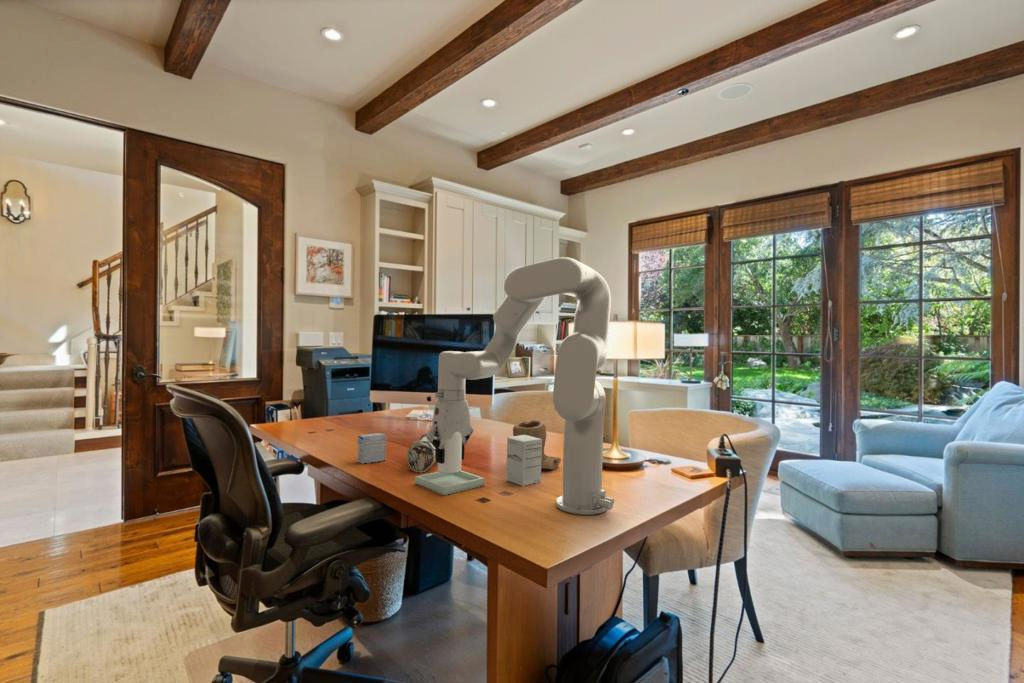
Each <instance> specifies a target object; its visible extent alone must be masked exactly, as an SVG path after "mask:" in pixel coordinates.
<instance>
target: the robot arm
mask: <svg viewBox="0 0 1024 683" xmlns="http://www.w3.org/2000/svg"><path fill="white" fill-rule="evenodd" d="M503 287H504V292H505V294H506V296H505V298H504V299H503V300H502V302H501V304H500V305H499V306H498V307H497V309H496V310H495V311H494V313H493V316H492V320H493V322H494V326H495V329H494V334H493V336H492V338H491V339H490V341H489V343H487V345H486V346H485V348H484V349H483V350H476V351H473V350H472V351H465V352H464V351H458V350H456V351H454V350H447V351H446V350H445V351H441V352H440V353H439V355H438V372H437V373H438V374H437V375H438V376H437V392H435V393H434V398H436V399H437V400H436V401H435V404H434V409H433V416H432V427H431V428H430V429H429V430H428V431H429V432H428V431H427V432H428V434H427V435H426V438H427V439H428V440H429V441H430V442H431V444H432V445H433V446H434V447H435V459H436V461H435V462H436V463H437V464H438V463H441V464H443V463H444V455H445V450H444V449H443V445H444V443H445V439H450V438H452V435H453V434H454V433H455V432H459V433H461V436H462V461H463V460H465V450H466V449H465V446H466V445H467V443H468V441H469V439H470V438H471V436H472V434H473V433H474V432H475V431H474V428H473V427H472V426H471V420H470V419H471V418H470V414H471V413H470V407H469V403H468V400H467V399H466V380H470V381H472V380H474V381H475V380H481V379H487V378H491V377H494V376H495V375H496V374H497V373H499V371H500V370H501V369H502V368H503V367H504V365H505V364H506V362H507V361H508V360H509V358H510V357H511V356H512V354H513V353H514V350H515V348H516V345H517V342H518V340H519V335H520V334H521V332H522V331H523V329H524V328H525V327H526V326H527V324H528V322H529V321H530V319H531V318H532V317H533V316H534V315H535V313H536V312H537V310H538V309H539V308H540V306H541V305H542V304H543V303H544V301H545V300H546V298H548V297H551V296H557V295H567V296H571V297H573V298H575V299H576V302H577V303H576V304H577V305H576V309H575V312H574V318H573V319H574V321H573V329H572V330H573V331H572V333H571V334H569V335H567V336H566V337H565V338H564V339H562V341H561V343H560V344H559V346H558V350H557V354H556V360H555V370H554V380H553V390H552V402H553V403H552V404H553V407H554V409H555V411H556V413H557V415H559V417H561V418H562V419H564V427H563V429H564V430H563V448H562V450H563V453H562V455H563V457H562V495H560V496H558V497H557V498H556V500H555V505H556V507H557V508H558V509H559V510H561V511H563V512H566V513H569V514H574V515H581V516H582V515H583V516H585V515H586V516H589V515H599V514H601V513H605V512H606V511H607V510H610V511H611V510H612V509H613V507H614V505H615V504H614V503H615V499H614V498H611V497H607V496H606V495H607V493H606V490H605V489H603V453H604V452H603V451H604V450H603V447H604V427H605V426H604V425H605V424H604V423H605V415H606V414H605V413H606V407H607V406H606V405H607V397H606V392H605V389H604V388H603V386H602V385H601V383H600V382H599V381H598V380H597V379H596V377H597V371H598V370H599V369H602V367H603V366H604V365H605V362H606V360H607V358H608V357H607V356H608V342H609V333H610V332H609V330H610V318H611V307H612V306H611V305H612V295H611V290H610V286H609V284H608V282H607V280H606V279H605V278H604V277H603V276H602V275H601V273H599V272H598V271H596V270H595V269H593V268H592V267H590V266H589V265H586V264H585V263H582V262H580V261H579V260H576V259H575V258H571V257H568V256H566V257H565V256H561V257H556V258H551V259H547V260H543V261H539V262H535V263H530V264H526V265H522V266H518V267H517V268H513V270H511V271H510V272H509V273H508V274H507V276H506V278H505V280H504V284H503ZM455 429H458V430H455ZM434 436H435V437H436V439H435V438H434ZM439 439H441V440H440V443H439Z"/></svg>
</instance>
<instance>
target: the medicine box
mask: <svg viewBox="0 0 1024 683" xmlns="http://www.w3.org/2000/svg"><path fill="white" fill-rule="evenodd" d="M386 441H387V435H386V434H384V433H381V432H376V433H374V432H373V433H369V434H359V435H358V436H357V462H358V461H359V462H360V463H359V462H358V463H359V464H361V463H362V464H361V465H365V464H364V463H367V464H371V462H373V463H377V462H378V461H380V462H385V461H386V456H387V455H386V453H387V452H386V451H387V450H386V448H387V447H386V446H387V443H386ZM384 460H385V461H384Z"/></svg>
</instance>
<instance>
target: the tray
mask: <svg viewBox="0 0 1024 683" xmlns="http://www.w3.org/2000/svg"><path fill="white" fill-rule="evenodd" d="M485 480H486V479H485V477H482V476H479V475H476V474H474V473H470V472H468V471H464V470H462V469H461V470H460V472H458V473H453V474H445V473H441V472H439V471H435V472H429V473H424V474H421V475H416V476H414V484H415V485H416V484H418V485H417V486H419V485H420V486H419V487H421V486H423V487H422V488H424V487H425V488H424V489H426V488H428V489H427V490H429V489H430V490H429V491H431V490H432V491H431V492H433V491H435V492H434V493H436V492H437V493H436V494H438V493H439V495H441V494H442V495H441V496H443V495H444V496H443V497H445V495H446V496H449V495H448V494H450V495H454V494H457V493H456V492H458V493H461V491H462V492H465V490H466V491H468V489H470V490H473V489H477V488H480V486H481V487H484V486H485ZM476 487H477V488H476ZM472 488H473V489H472ZM453 493H454V494H453Z"/></svg>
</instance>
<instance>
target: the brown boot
mask: <svg viewBox="0 0 1024 683" xmlns="http://www.w3.org/2000/svg"><path fill="white" fill-rule="evenodd" d="M519 435H528V436H532V437H536V438H540V439H542V457H541V470H555V469H557V468H558V467H559V465H560V463H561V460H562V458H561V457H559V456H558V457H557V456H548V455H547V454H545V445H546V441H547V427H546V424H545V423H544V422H543V421H541V420H537V419H535V420H534V419H533V420H530V421H527V420H523V421H522V420H521V421H520V422H518V423H517V422H516V423H515V424H514V426H513V428H512V437H513V436H519Z"/></svg>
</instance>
